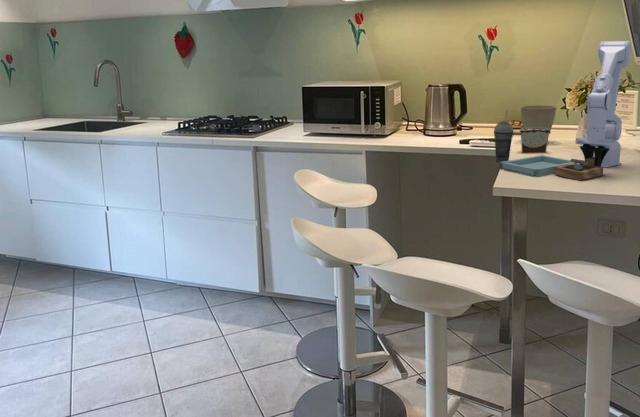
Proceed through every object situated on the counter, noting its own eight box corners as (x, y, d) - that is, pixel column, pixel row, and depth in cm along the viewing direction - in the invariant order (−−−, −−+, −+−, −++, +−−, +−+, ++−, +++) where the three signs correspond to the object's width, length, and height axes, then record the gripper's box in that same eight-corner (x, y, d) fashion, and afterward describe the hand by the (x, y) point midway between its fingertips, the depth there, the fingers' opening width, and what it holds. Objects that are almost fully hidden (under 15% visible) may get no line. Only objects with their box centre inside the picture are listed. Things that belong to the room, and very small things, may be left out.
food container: (545, 150, 263) (547, 126, 261) (549, 152, 258) (551, 128, 255) (515, 150, 265) (516, 126, 262) (518, 153, 259) (519, 128, 256)
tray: (541, 161, 241) (542, 155, 240) (579, 168, 227) (579, 161, 226) (499, 168, 231) (499, 162, 230) (535, 176, 216) (536, 169, 216)
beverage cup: (503, 159, 247) (505, 108, 242) (516, 162, 241) (519, 109, 236) (488, 161, 244) (490, 109, 239) (501, 164, 238) (503, 111, 233)
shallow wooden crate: (583, 167, 225) (584, 155, 223) (610, 172, 215) (611, 159, 214) (554, 174, 218) (554, 161, 217) (581, 180, 209) (581, 166, 207)
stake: (573, 173, 219) (574, 158, 218) (588, 176, 214) (589, 160, 212) (567, 175, 218) (568, 159, 216) (582, 178, 213) (583, 162, 211)
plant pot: (560, 142, 280) (563, 106, 276) (542, 146, 271) (544, 109, 267) (530, 139, 292) (532, 104, 287) (512, 143, 282) (513, 107, 278)
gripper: (570, 126, 219) (567, 165, 223) (607, 131, 207) (603, 171, 211) (584, 124, 223) (581, 162, 226) (621, 129, 211) (617, 169, 214)
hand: (593, 166), depth 219 cm, fingers closed on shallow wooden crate, 3 cm apart
